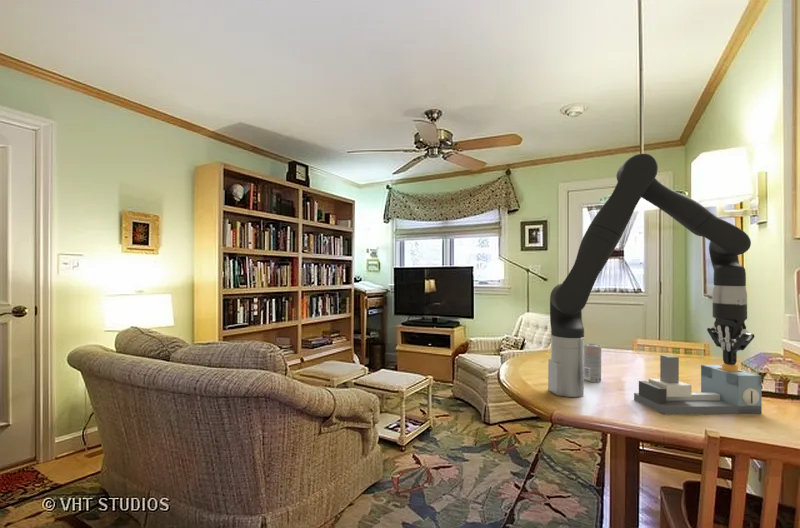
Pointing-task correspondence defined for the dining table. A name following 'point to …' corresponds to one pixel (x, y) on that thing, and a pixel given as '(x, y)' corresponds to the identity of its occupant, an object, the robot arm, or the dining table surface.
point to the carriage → (671, 378)
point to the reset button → (729, 367)
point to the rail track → (709, 394)
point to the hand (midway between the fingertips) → (729, 364)
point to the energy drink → (592, 362)
